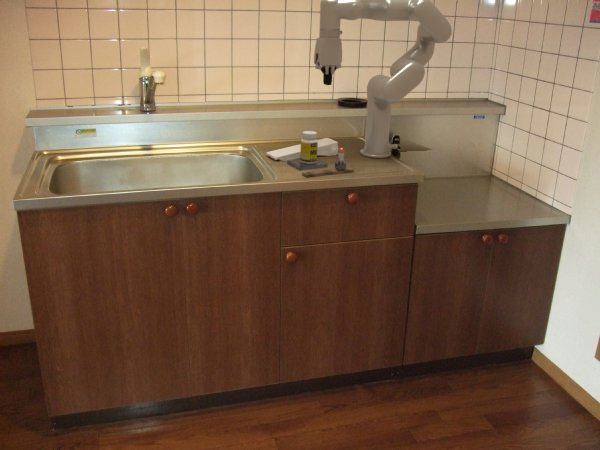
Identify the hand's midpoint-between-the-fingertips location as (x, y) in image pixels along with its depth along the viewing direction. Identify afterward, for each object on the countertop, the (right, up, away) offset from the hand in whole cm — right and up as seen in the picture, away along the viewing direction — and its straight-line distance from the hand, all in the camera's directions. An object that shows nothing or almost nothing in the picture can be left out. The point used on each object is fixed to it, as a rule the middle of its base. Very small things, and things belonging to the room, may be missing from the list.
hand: (327, 84), depth 231 cm
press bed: (-8, -31, -1) cm, 32 cm away
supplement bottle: (-7, -30, -1) cm, 31 cm away
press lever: (+4, -33, -9) cm, 34 cm away
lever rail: (0, -35, -11) cm, 36 cm away
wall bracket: (-9, -26, +12) cm, 30 cm away
